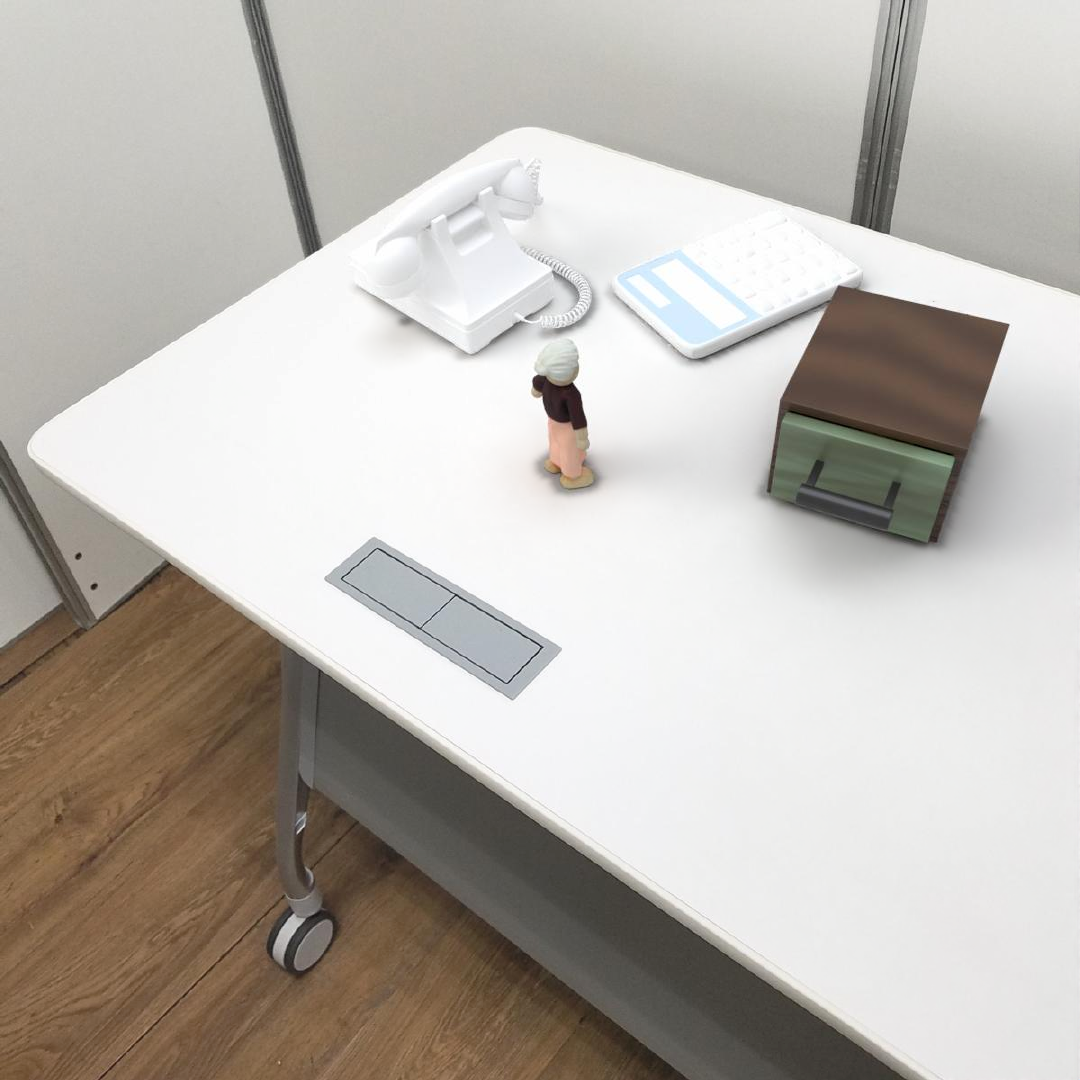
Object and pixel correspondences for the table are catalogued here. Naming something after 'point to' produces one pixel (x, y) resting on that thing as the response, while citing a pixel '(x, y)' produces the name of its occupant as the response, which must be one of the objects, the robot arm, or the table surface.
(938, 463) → the drawer
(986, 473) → the table surface
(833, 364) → the cabinet
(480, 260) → the telephone
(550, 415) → the grandmother figurine
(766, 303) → the calculator
